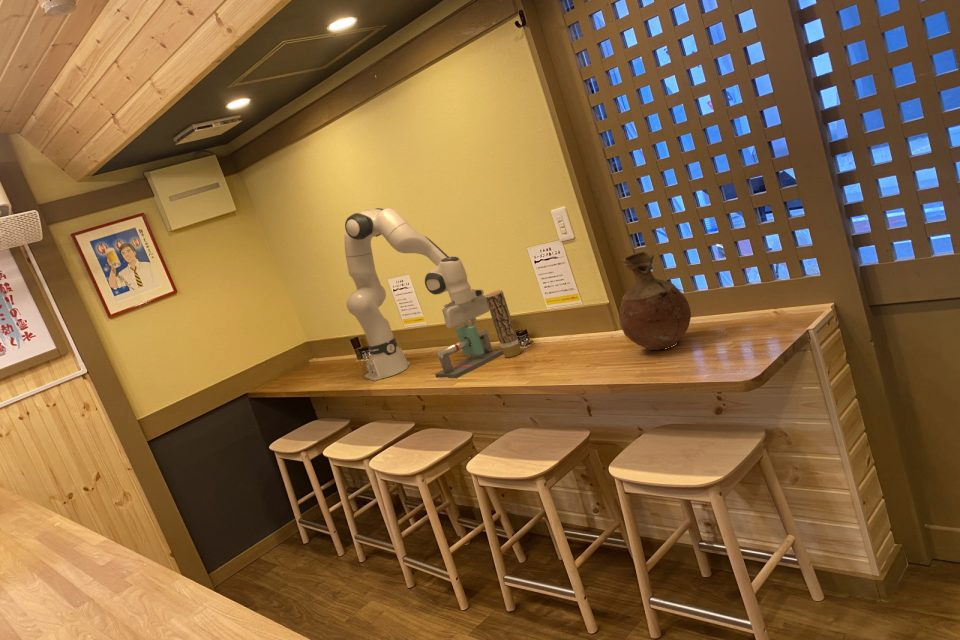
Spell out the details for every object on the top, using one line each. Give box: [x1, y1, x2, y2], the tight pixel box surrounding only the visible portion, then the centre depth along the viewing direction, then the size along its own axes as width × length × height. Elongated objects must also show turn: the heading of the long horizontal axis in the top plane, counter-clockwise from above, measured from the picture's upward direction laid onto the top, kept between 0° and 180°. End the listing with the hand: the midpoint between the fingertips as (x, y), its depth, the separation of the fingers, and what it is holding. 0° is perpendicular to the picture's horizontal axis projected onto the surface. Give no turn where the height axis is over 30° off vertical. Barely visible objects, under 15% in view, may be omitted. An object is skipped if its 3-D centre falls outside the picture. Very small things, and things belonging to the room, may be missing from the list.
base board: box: [434, 349, 504, 379], centre depth 280 cm, size 14×24×2 cm, turn 128°
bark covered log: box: [484, 289, 522, 359], centre depth 273 cm, size 7×7×25 cm
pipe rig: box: [436, 328, 494, 373], centre depth 280 cm, size 4×24×9 cm, turn 128°
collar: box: [455, 325, 484, 356], centre depth 281 cm, size 11×2×11 cm, turn 38°
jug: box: [619, 251, 692, 351], centre depth 224 cm, size 22×22×30 cm
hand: (472, 330), depth 282 cm, fingers closed
